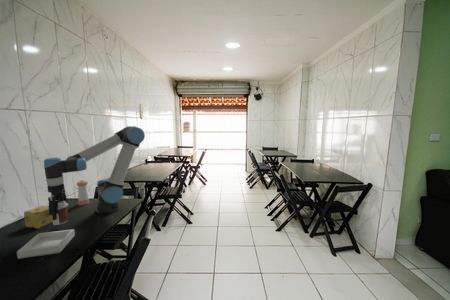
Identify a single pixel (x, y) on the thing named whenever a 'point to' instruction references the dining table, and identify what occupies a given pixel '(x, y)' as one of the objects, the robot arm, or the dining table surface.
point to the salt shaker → (82, 193)
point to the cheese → (38, 217)
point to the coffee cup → (62, 212)
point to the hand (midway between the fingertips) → (60, 220)
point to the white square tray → (46, 243)
